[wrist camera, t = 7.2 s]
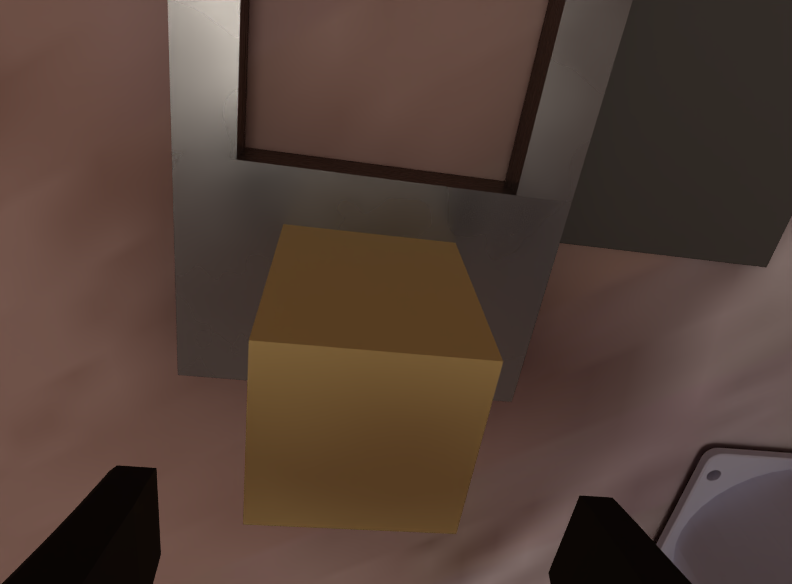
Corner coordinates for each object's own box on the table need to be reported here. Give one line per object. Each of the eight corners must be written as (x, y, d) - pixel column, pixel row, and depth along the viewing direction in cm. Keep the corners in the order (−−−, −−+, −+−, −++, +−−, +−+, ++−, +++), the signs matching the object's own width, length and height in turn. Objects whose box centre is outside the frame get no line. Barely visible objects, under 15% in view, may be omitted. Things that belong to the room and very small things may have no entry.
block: (427, 380, 17) (456, 534, 12) (275, 368, 17) (243, 524, 12) (455, 242, 15) (503, 361, 10) (282, 223, 15) (248, 340, 10)
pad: (762, 264, 18) (766, 267, 17) (542, 238, 17) (544, 240, 16) (906, -34, 14) (913, -34, 14) (636, -88, 13) (639, -89, 13)
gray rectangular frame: (502, 378, 19) (526, 442, 16) (188, 351, 18) (159, 415, 15) (668, -200, 12) (756, -252, 10) (177, -311, 11) (121, -407, 8)
